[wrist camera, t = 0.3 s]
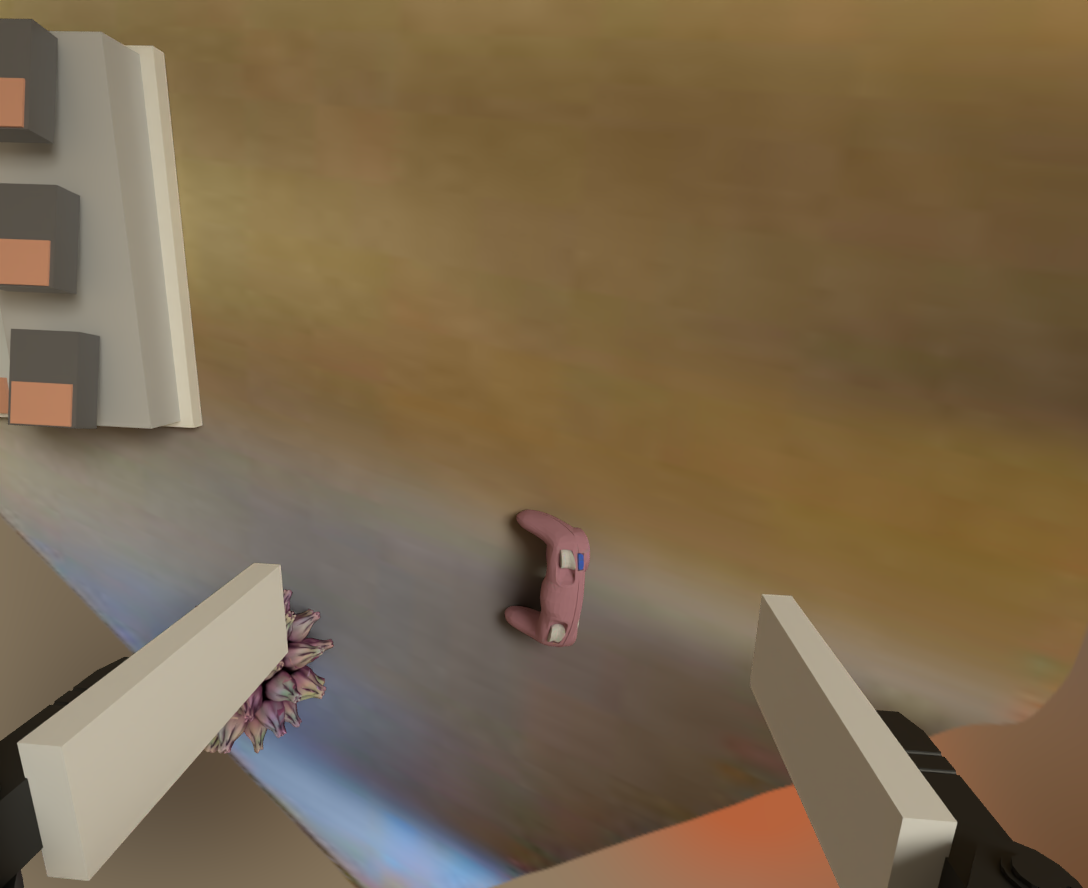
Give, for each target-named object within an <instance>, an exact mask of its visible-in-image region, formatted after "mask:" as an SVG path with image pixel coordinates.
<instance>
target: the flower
mask: <svg viewBox="0 0 1088 888" xmlns="http://www.w3.org/2000/svg"><path fill="white" fill-rule="evenodd" d="M291 595H292V592H291V590H286V589H285V590H284V591H283V598H284V610H285V621H286V633H287V644H288V653H287V654H286V655H285V657H284V658H283V659H282V660H281V661H280V662H279V663H278V665H277V666H276V667H275V668H274V669H273V670H272V671H271V673H270V674H269V675H268V676H267V677H266V678H265V679H264V681H263V682H262V683H261V684H260V685H259V686H258V688H257V689H256V690H255V691H254V692H253V693H252V694H251V696H250V697H249V698H248V699H247V700H246V701H245V702H244V704H243V705H242V706H241V707H240V708H239V709H238V710H237V712H236V713H235V714H234V715H233V716H232V717H231V718H230V720H229V721H228V722H227V723H226V724H225V725H224V727H223V728H222V729H221V730H220V731H219V732H218V733H217V735H216V736H215V737H214V738H213V739H212V740H211V741H210V743H209V744H208V745H207V746H206V747H205V749H204V750H205V751H207V752H209V751H210V752H211V753H213V752H216V750H217V748H218V752H219V753H222V752H223V753H225V754H226V753H227V752H228V753H229V752H230V751H231V748H232V745H233V743H234V741H235V740H236V739H237V738H238V737H239V736H240V735H241V734H242V733H243V732H245V734H246V735H247V736H248V737H249V738H250V740H251V741H252V743H253V746H254V751H255V752H256V753H258V752H259V751H260V749H262V750H263V740H264V736H265V734H266V731H267V729H269V730H271V731H273V732H274V734H275V735H276V736H277V737H278V738H279V737H280V736H283V735H284V734H286V729H285V726H284V722H285V721H286V722H290V723H291V724H292V725H293V726H294V727H299V725H300V722H302V721H301V719H300V718H299V716H298V713H297V705H296V703H297V702H299V701H300V700H305V699H308V698H312V697H315V698H319V699H321V698H322V696H323V695H324V691H325V690H326V687H325V686H323V684H324V683H325V679H324V678H322V677H319V676H317V675H316V674H315V673H314V672H313V671H312V669H311V668H309V667H308V666H306V664H308V663H310V662H313V661H314V660H315V659H316V658H318V657H319V656H320V655H322V654H323V652H324V651H325V650H327V649H330V648H332V647H333V646H334V645H333V641H331V639H329V640H318V639H314V638H305V637H306V636H307V635H308V633H309V631H310V629H311V627H312V625H313V624H314V623H315V622H316V621H317V620H318V619H319V618H320V612H313V610H311V609H308V610H307V611H305V612H304V613H301V614H296V615H295V614H294V611H293V612H292V611H290V597H291ZM195 607H197V606H195ZM304 638H305V639H304Z"/></svg>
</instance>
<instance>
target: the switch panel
mask: <svg viewBox="0 0 1088 888" xmlns="http://www.w3.org/2000/svg"><path fill="white" fill-rule="evenodd" d="M49 32H50V33H51V34H52V35H54V36H55V37H56V38H58V45H57V75H56V104H55V134H54V144H50V143H11V142H0V183H13V184H46V185H58V186H60V187H63V188H65V189H67V190H69V191H71V192H73V193H75V194H77V195H79V196H80V211H79V239H78V268H77V294H59V293H35V292H12V291H4V290H0V417H8V401H9V370H10V339H11V329H30V330H52V331H73V332H83V333H87V334H92V335H97V336H100V347H99V374H98V402H97V426H114V427H131V428H149V429H152V428H156V427H159V426H169V427H187V428H195V427H199V426H202V416H201V406H200V397H199V387H198V377H197V368H196V358H195V348H194V339H193V329H192V319H191V310H190V300H189V290H188V281H187V271H186V261H185V252H184V242H183V232H182V223H181V213H180V203H179V194H178V184H177V174H176V165H175V155H174V145H173V136H172V126H171V116H170V106H169V97H168V87H167V77H166V68H165V58H164V53H163V52H162V51H160V50H159V49H157V48H155V47H154V46H125V45H123V44H121V43H120V42H118V41H116V40H114V39H113V38H111V37H109V36H108V35H106V34H104V33H103V32H73V31H49Z"/></svg>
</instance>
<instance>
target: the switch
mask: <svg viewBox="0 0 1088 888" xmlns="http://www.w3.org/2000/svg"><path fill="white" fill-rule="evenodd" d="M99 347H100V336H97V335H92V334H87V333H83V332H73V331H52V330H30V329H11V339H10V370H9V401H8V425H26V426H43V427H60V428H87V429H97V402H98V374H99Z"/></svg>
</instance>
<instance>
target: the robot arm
mask: <svg viewBox="0 0 1088 888" xmlns="http://www.w3.org/2000/svg"><path fill="white" fill-rule="evenodd" d="M287 653H288V644H287V633H286V621H285V610H284V598H283V587H282V576H281V565H277V564H261V563H253V564H252V565H251V566H249V567H248V568H247V569H246V570H244V571H243V572H242V573H240V574H239V575H238V576H236V577H235V578H234V579H232V580H231V581H230V582H228V583H227V584H226V585H224V586H223V587H222V588H220V589H219V590H218V591H217V592H215V593H214V594H213V595H211V596H210V597H209V598H207V599H206V600H205V601H203V602H202V603H201V604H199V605H198V606H197V607H195V608H194V609H193V610H191V611H190V612H189V613H188V614H186V615H185V616H184V617H182V618H181V619H180V620H178V621H177V622H176V623H174V624H173V625H172V626H170V627H169V628H168V629H166V630H165V631H164V632H162V633H161V634H160V635H159V636H157V637H156V638H155V639H153V640H152V641H151V642H149V643H148V644H147V645H145V646H144V647H143V648H141V649H140V650H139V651H137V652H136V653H135V654H133V655H132V656H131V657H124V658H121V659H119V660H117V661H115V662H113V663H111V664H109V665H107V666H105V667H103V668H101V669H99V670H97V671H96V672H94V673H93V674H91V675H90V676H88V677H87V678H86V679H84V680H83V681H82V682H81V683H79V684H78V685H76V686H75V687H74V688H73V690H72V691H68V692H67V693H65V694H64V695H63V696H61V697H60V698H58V699H57V700H56V701H55V703H54V704H53V705H49V706H48V707H46V708H45V709H43V710H42V711H41V712H39V713H38V714H37V715H35V716H34V717H33V718H31V719H30V720H29V721H27V722H26V723H24V724H23V725H22V726H20V727H19V728H18V729H16V730H15V731H14V732H12V733H11V734H9V735H8V736H7V737H5V738H4V739H3V740H1V741H0V888H24V885H23V878H22V874H21V869H22V868H23V867H24V866H25V865H26V864H27V863H28V862H29V861H30V860H31V859H32V858H33V857H34V856H35V855H36V854H37V853H38V852H39V851H40V850H42V855H43V859H44V864H45V868H46V872H47V876H48V877H56V878H67V879H77V880H87V881H89V880H90V879H91V878H92V877H93V876H94V875H95V873H96V872H97V871H98V870H99V869H100V868H101V867H102V865H103V864H104V863H105V862H106V861H107V860H108V859H109V857H110V856H111V855H112V854H113V852H115V850H116V849H117V848H118V847H119V846H120V845H121V844H122V842H123V841H124V840H125V839H126V838H127V837H128V836H129V834H130V833H131V832H132V831H133V830H134V828H135V827H136V826H137V825H138V824H139V823H140V822H141V821H142V819H143V818H144V817H145V816H146V815H147V814H148V813H149V811H150V810H151V809H152V808H153V807H154V806H155V805H156V803H157V802H158V801H159V800H160V799H161V797H162V796H163V795H164V794H165V793H166V792H167V791H168V789H169V788H170V787H171V786H172V785H173V784H174V783H175V781H176V780H177V779H178V778H179V777H180V776H181V775H182V774H183V772H184V771H185V770H186V769H187V768H188V767H189V766H190V764H191V763H192V762H193V761H194V760H195V759H196V757H197V756H198V755H199V754H200V753H201V752H202V751H203V749H204V748H205V747H206V746H207V745H208V744H209V743H210V741H211V740H212V739H213V738H214V737H215V736H216V735H217V733H218V732H219V731H220V730H221V729H222V728H223V727H224V725H225V724H226V723H227V722H228V721H229V720H230V718H231V717H232V716H233V715H234V714H235V713H236V712H237V710H238V709H239V708H240V707H241V706H242V705H243V704H244V702H245V701H246V700H247V699H248V698H249V697H250V696H251V694H252V693H253V692H254V691H255V690H256V689H257V688H258V686H259V685H260V684H261V683H262V682H263V681H264V679H265V678H266V677H267V676H268V675H269V674H270V673H271V671H272V670H273V669H274V668H275V667H276V666H277V665H278V663H279V662H280V661H281V660H282V659H283V658H284V657H285V655H286V654H287ZM750 687H751V689H752V691H753V694H754V696H755V698H756V700H757V703H758V705H759V707H760V709H761V712H762V714H763V716H764V718H765V721H766V723H767V725H768V727H769V730H770V732H771V734H772V736H773V739H774V741H775V743H776V745H777V748H778V750H779V752H780V754H781V757H782V759H783V761H784V763H785V766H786V768H787V770H788V772H789V775H790V777H791V779H792V781H793V784H794V786H795V788H796V790H797V792H798V795H799V797H800V799H801V802H802V804H803V806H804V808H805V811H806V813H807V815H808V817H809V819H810V822H811V824H812V826H813V828H814V831H815V833H816V835H817V838H818V840H819V842H820V844H821V847H822V849H823V851H824V853H825V856H826V858H827V860H828V862H829V865H830V867H831V869H832V871H833V874H834V876H835V878H836V880H837V883H838V885H839V887H840V888H1082V886H1081V885H1080V884H1079V882H1078V881H1077V880H1076V879H1075V878H1073V877H1072V876H1071V875H1070V874H1069V873H1068V872H1066V871H1065V870H1064V869H1063V868H1062V867H1061V866H1060V865H1059V864H1057V863H1055V862H1054V861H1052V860H1051V859H1049V858H1047V857H1046V856H1044V855H1043V854H1041V853H1039V852H1038V851H1036V850H1034V849H1031V848H1029V847H1026V846H1024V845H1022V844H1019V843H1017V842H1013V841H1012V839H1011V838H1010V837H1009V836H1008V835H1007V833H1006V832H1005V831H1004V830H1003V828H1002V827H1001V826H1000V825H999V823H998V822H997V821H996V820H995V819H994V817H993V816H992V815H991V814H990V812H989V811H988V810H987V809H986V807H985V806H984V805H983V804H982V803H981V801H980V800H979V799H978V798H977V796H976V795H975V794H974V793H973V792H972V790H971V789H970V788H969V787H968V785H967V784H966V783H965V782H964V780H963V779H962V778H961V777H960V775H956V771H955V769H954V768H953V767H952V766H951V764H950V763H949V762H948V761H947V760H946V758H945V757H942V756H941V752H940V751H939V749H938V748H937V747H936V746H935V745H934V743H933V742H932V741H931V740H930V738H929V737H928V736H927V735H926V733H925V732H924V731H923V730H921V729H920V728H919V727H918V726H916V725H915V724H914V723H912V722H911V721H910V720H908V719H907V718H906V717H904V716H903V715H902V714H900V713H899V712H893V711H880V710H875V709H874V708H873V706H872V705H871V704H870V702H869V701H868V700H867V698H866V697H865V695H864V694H863V693H862V691H861V690H860V689H859V687H858V686H857V684H856V683H855V682H854V680H853V679H852V678H851V676H850V675H849V674H848V672H847V671H846V669H845V668H844V667H843V665H842V664H841V663H840V661H839V660H838V659H837V657H836V656H835V654H834V653H833V652H832V650H831V649H830V648H829V646H828V645H827V644H826V642H825V641H824V639H823V638H822V637H821V635H820V634H819V633H818V631H817V630H816V629H815V627H814V626H813V624H812V623H811V622H810V620H809V619H808V618H807V616H806V615H805V614H804V612H803V611H802V609H801V608H800V607H799V605H798V604H797V603H796V601H795V600H794V599H793V597H792V596H782V595H766V594H762V598H761V605H760V613H759V620H758V627H757V635H756V642H755V650H754V657H753V664H752V672H751V679H750Z"/></svg>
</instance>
